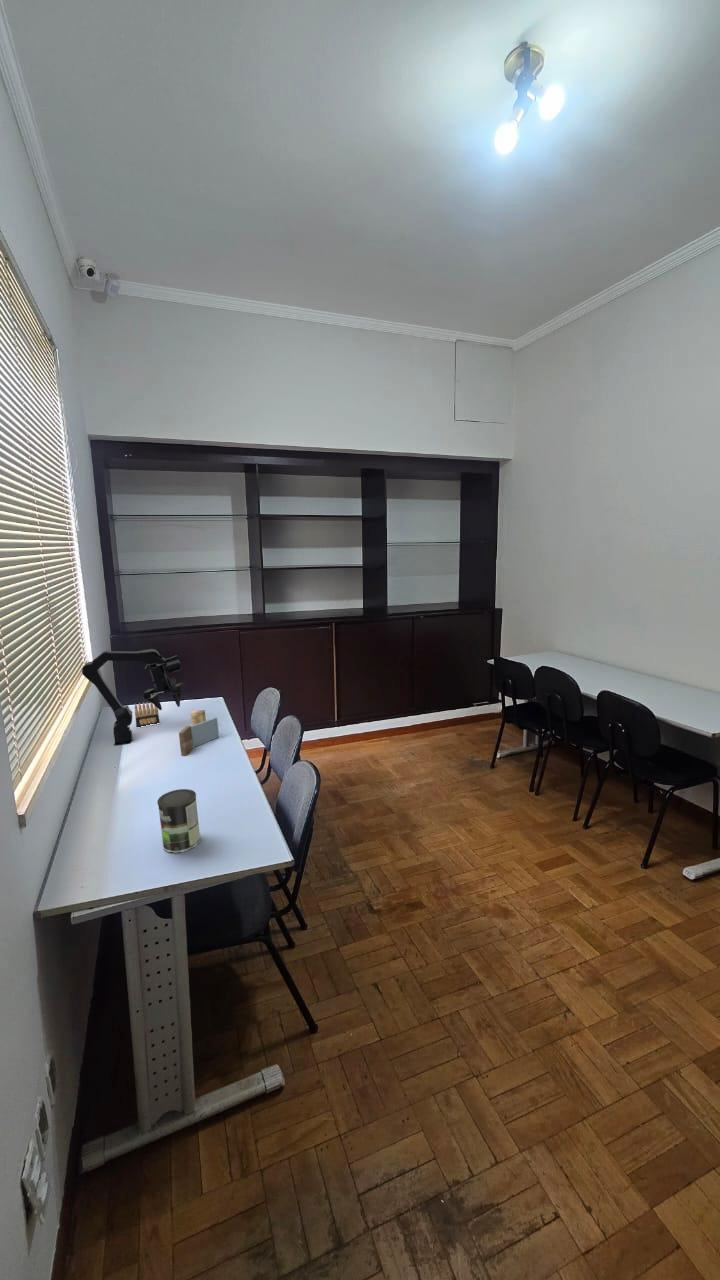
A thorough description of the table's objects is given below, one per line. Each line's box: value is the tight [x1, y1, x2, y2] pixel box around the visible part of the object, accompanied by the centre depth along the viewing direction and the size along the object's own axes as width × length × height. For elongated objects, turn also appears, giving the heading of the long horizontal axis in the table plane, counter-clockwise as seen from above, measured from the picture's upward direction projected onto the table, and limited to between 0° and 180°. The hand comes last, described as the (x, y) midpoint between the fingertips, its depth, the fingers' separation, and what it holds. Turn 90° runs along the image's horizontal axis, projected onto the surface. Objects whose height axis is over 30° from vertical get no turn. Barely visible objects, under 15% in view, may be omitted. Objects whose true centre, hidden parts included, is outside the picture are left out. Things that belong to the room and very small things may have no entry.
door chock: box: [190, 709, 207, 726], centre depth 228 cm, size 5×4×12 cm
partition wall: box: [178, 725, 194, 757], centre depth 213 cm, size 2×8×10 cm, turn 177°
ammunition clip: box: [134, 701, 161, 728], centre depth 249 cm, size 11×2×12 cm, turn 113°
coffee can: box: [157, 788, 201, 854], centre depth 146 cm, size 10×10×14 cm
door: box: [190, 717, 220, 748], centre depth 223 cm, size 1×13×9 cm, turn 142°
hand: (170, 708), depth 234 cm, fingers open, 9 cm apart
